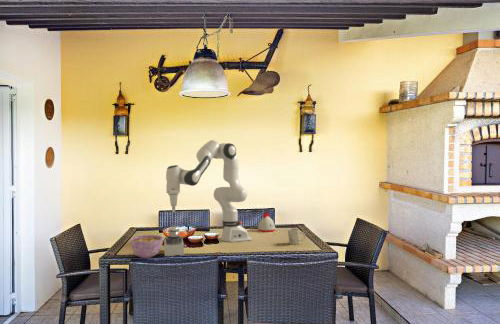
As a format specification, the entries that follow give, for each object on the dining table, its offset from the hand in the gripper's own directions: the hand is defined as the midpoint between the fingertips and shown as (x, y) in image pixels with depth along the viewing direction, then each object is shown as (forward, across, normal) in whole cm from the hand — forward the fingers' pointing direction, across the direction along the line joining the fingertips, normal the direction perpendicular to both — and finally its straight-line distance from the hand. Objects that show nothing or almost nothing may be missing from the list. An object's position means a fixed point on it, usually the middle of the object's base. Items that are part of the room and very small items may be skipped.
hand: (173, 211), depth 277 cm
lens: (+20, 0, 0) cm, 20 cm away
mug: (+27, -4, +86) cm, 90 cm away
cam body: (+27, +2, 0) cm, 27 cm away
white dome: (+28, -52, +76) cm, 96 cm away
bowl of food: (+27, +9, -17) cm, 33 cm away
